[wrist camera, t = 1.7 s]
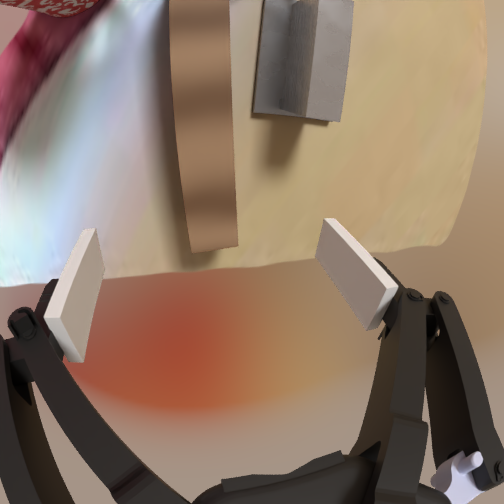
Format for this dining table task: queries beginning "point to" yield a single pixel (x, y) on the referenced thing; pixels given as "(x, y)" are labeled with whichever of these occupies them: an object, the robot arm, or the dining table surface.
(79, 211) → the dining table surface
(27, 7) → the mug
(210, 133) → the walnut bar
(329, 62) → the fulcrum
